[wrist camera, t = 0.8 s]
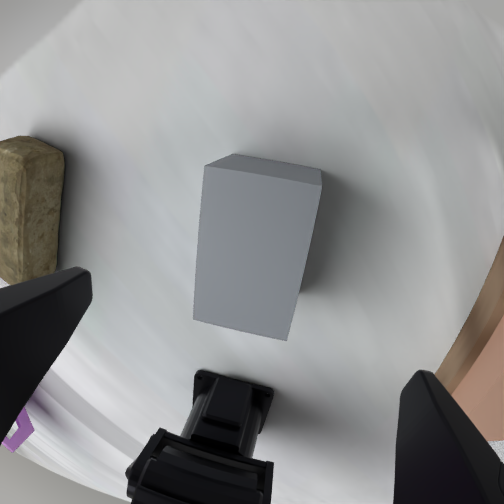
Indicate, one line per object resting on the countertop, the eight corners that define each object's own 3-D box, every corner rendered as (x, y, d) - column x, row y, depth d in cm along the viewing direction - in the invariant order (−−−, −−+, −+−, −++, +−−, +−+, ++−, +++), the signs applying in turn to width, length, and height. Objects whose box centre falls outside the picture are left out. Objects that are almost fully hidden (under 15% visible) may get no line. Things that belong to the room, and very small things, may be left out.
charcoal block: (294, 292, 21) (286, 341, 16) (218, 276, 21) (193, 319, 17) (320, 169, 17) (322, 186, 13) (233, 153, 18) (204, 165, 13)
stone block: (73, 145, 19) (23, 158, 15) (63, 276, 24) (26, 305, 20) (26, 130, 20) (-21, 141, 15) (21, 251, 25) (-15, 275, 20)
